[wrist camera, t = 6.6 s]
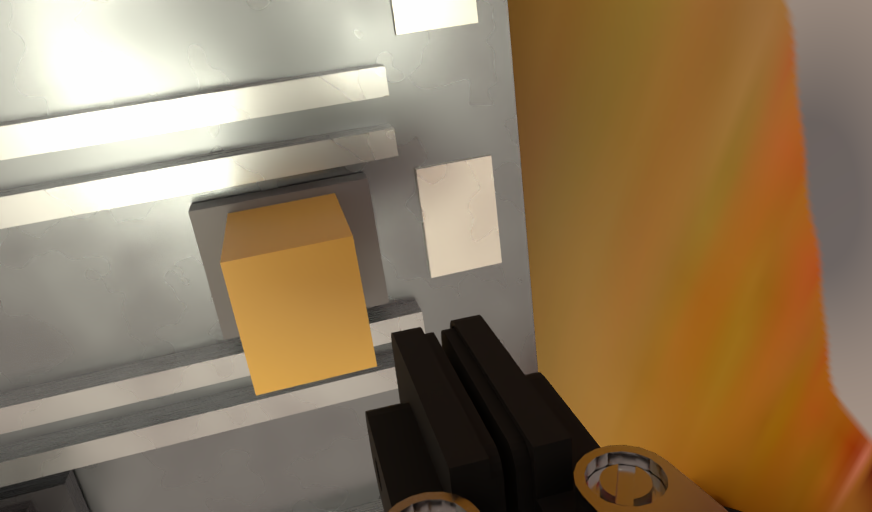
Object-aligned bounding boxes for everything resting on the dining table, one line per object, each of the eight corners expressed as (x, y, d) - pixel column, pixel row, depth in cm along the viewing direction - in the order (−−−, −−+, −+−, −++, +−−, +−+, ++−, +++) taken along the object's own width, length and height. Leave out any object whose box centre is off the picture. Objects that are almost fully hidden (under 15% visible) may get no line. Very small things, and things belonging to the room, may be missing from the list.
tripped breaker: (191, 204, 19) (170, 261, 14) (363, 172, 20) (393, 217, 15) (225, 328, 20) (216, 414, 16) (384, 292, 21) (417, 365, 17)
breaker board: (-657, -61, 15) (-1350, -117, 8) (470, -167, 19) (571, -255, 13) (-189, 635, 23) (-362, 875, 16) (526, 439, 27) (607, 567, 21)
